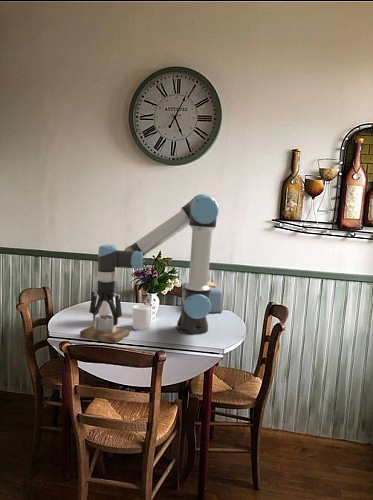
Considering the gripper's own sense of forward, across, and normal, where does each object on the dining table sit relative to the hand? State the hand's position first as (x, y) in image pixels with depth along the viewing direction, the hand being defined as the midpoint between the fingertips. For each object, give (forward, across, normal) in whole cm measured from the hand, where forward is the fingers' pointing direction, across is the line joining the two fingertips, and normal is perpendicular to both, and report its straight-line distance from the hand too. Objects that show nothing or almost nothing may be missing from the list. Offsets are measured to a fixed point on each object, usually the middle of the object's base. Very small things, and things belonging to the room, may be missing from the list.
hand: (105, 330), depth 207 cm
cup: (+3, -8, -21) cm, 23 cm away
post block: (+3, 0, 0) cm, 3 cm away
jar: (+3, +10, -16) cm, 19 cm away
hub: (0, 0, -1) cm, 1 cm away
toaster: (+3, -25, -65) cm, 70 cm away
